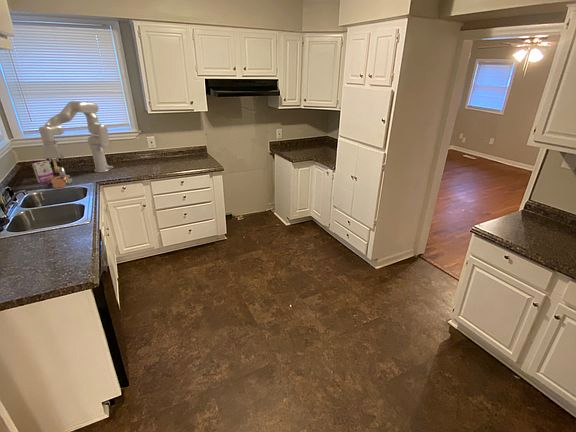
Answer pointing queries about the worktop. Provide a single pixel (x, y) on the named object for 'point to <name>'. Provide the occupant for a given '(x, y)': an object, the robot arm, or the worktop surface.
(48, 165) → the candy bar box
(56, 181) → the rosette post
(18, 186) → the worktop surface
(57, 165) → the locking pin
